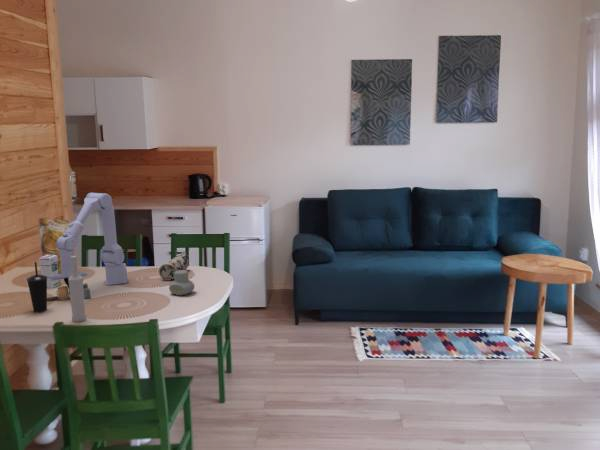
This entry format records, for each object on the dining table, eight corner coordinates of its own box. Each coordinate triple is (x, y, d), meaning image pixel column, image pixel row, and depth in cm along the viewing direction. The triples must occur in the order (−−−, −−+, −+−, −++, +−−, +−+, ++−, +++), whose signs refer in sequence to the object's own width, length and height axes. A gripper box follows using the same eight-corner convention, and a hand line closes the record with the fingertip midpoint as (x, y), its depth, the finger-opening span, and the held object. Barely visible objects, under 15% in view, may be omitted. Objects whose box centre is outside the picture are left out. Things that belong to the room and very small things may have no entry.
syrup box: (53, 288, 257) (50, 257, 254) (41, 287, 258) (38, 257, 255) (60, 284, 262) (58, 254, 260) (49, 284, 263) (46, 254, 261)
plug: (68, 296, 244) (67, 285, 243) (69, 299, 241) (67, 287, 240) (46, 300, 240) (44, 289, 239) (46, 302, 237) (44, 291, 236)
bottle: (81, 316, 219) (75, 254, 215) (89, 318, 216) (83, 256, 212) (69, 320, 215) (63, 257, 210) (77, 322, 212) (71, 258, 207)
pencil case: (174, 269, 287) (173, 251, 286) (190, 270, 286) (189, 251, 284) (158, 281, 266) (157, 261, 264) (175, 282, 265) (174, 262, 263)
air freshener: (166, 295, 245) (165, 273, 243) (176, 289, 253) (175, 268, 251) (187, 297, 242) (186, 275, 240) (197, 292, 249) (196, 270, 247)
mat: (72, 288, 255) (72, 288, 255) (74, 293, 249) (74, 292, 249) (56, 291, 252) (56, 290, 252) (57, 295, 246) (57, 294, 246)
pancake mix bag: (48, 270, 288) (43, 216, 282) (75, 274, 280) (71, 219, 275) (37, 273, 282) (31, 219, 277) (65, 277, 274) (60, 221, 269)
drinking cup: (34, 307, 230) (29, 260, 226) (53, 306, 231) (48, 259, 227) (26, 313, 223) (21, 265, 219) (46, 313, 223) (41, 264, 220)
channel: (87, 291, 251) (86, 283, 250) (90, 298, 241) (89, 289, 240) (73, 293, 249) (72, 284, 248) (75, 300, 238) (75, 291, 237)
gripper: (50, 268, 233) (53, 299, 236) (87, 263, 240) (89, 294, 242) (49, 264, 239) (52, 294, 242) (85, 260, 246) (87, 290, 248)
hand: (70, 294), depth 242 cm, fingers closed
